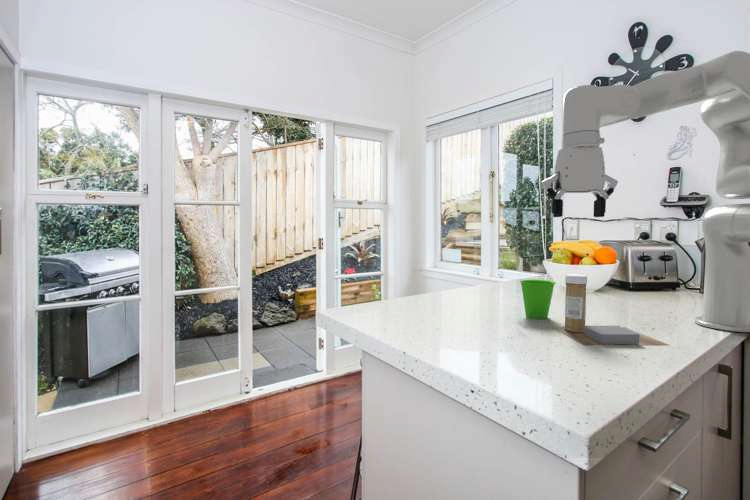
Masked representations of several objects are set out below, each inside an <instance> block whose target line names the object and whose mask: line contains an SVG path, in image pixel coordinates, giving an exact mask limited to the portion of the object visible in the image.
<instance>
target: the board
mask: <svg viewBox="0 0 750 500" xmlns="http://www.w3.org/2000/svg"><path fill="white" fill-rule="evenodd" d="M564 327H565V326H564ZM564 327H561V326H559V327H557V326H553V327H552V329H554V330H556V331H557V332H559V333H561V334H563V335H564V336H566V337H568V338H569V339H572V340H573V341H576V342H577V343H579V344H581V345H582V346H670V344H668V343H666V342H663V341H661V340H659V339H656V338H652V337H651V336H649V335H645V334H643V333H641V332H638V331H635V330H633V329H631V328H627V327H625V326H623V327H622V326H621V327H622V328H625V329H627V330H630V331H632V332H635V333H637V334H640V336H639V344H601V343H599V342H597V341H595V340H593V339H591V338H589V337H587V336H585V335H583V332H582V333H576V332H570V331H567V330H565V329H564Z"/></svg>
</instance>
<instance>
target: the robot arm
mask: <svg viewBox="0 0 750 500" xmlns="http://www.w3.org/2000/svg"><path fill="white" fill-rule="evenodd" d="M563 96H564V97H563V107H562V108H563V111H562V115H563V116H562V147H561V149H559V150H557V151H558V152H557V155H556V159H555V165H554V172H553V175H552V176H550V177H547V178H545V179H544V180H542V181H541V182H540V184H541V187H542V188H543V190H544V193H545V194H546V196H548V197H549V199H550V201H551V213H552V218H562V217H563V216H564V215H563V212H564V211H563V210H564V209H563V207H564V200H563V199H561V198H562V197H563V196H564V195H565V193H566V194H567V193H568V194H569V193H571V194H576V193H577V194H579V193H580V194H581V193H582V194H584V193H586V194H587V193H591V194H592V195H593V196H594V197H595V200H594V201H593V217H594V218H604V217H605V213H606V209H607V208H606V206H607V205H606V203H607V200H608V199H609V198H610V196H611V195H612V194H613V193H614V192H615V189H616V188H617V185H618V184H619V182H618V180H617V179H615V178H613V177H611V176H609V175H607V174H606V167H605V166H606V165H605V159H604V158H605V157H604V151H603V147H601V146H600V145H602V144H604V143H605V141H606V140H605V137H601V131H600V130H601V128H603V127H608V126H612V125H614V124H615V125H616V124H619V123H622V122H625V121H628V120H629V121H630V120H633V119H638V118H643V117H647V116H651V115H652V116H653V115H655V114H658V113H662V112H665V111H670V110H673V109H677V108H680V107H684V106H688V105H692V104H695V103H700V102H703V101H705V102H704V103H703V104H702V106H701V108H700V117H701V120H702V121H703V123H704V125H706V127H708V128H709V129H710V131H711V132H712V133H713V134H714V135H715V137H716V138H717V140H718V143H719V147H720V151H719V158H718V165H717V173H716V179H715V192H716V194H717V195H718V196H719V197H720V198H723V199H727V200H750V53H749V52H747V51H744V50H733V51H730V52H727V53H725V54H723V55H721V56H718V57H716V58H713V59H710V60H709V61H706V62H703V63H701V64H698V65H694V66H690V67H685V68H683V69H679V70H675V71H670V72H667V73H666V72H665V73H661V74H659V75H658V74H657V75H655V76H652V77H650V78H648V79H646V80H643V81H641V82H638V83H636V84H634V85H630V84H615V85H614V84H613V85H605V86H598V85H593V84H584V85H583V84H582V85H578V86H575V87H572V88H570V89H568V90H567V91H566V93H564V95H563ZM552 183H553V185H552V186H553V187H552V186H551V184H552ZM605 184H606V185H607V187H606V188H605ZM604 188H605V189H604ZM701 222H702V223H701V228H702V233H703V239H704V243H705V261H704V262H705V264H704V265H705V266H704V280H703V281H704V283H703V300H702V316H701V315H700V316H696V317H695V318H694V323H695V324H697V325H700V326H703V327H706V328H710V329H715V330H721V331H729V332H737V333H738V332H739V333H750V245H749V244H748V243H750V203H735V204H734V203H733V204H732V203H731V204H723V205H719V206H715V207H713V208H711V209H709V210H708V211H707V212H705V214H704V215H703V217H702V221H701Z"/></svg>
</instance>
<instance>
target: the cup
mask: <svg viewBox="0 0 750 500" xmlns="http://www.w3.org/2000/svg"><path fill="white" fill-rule="evenodd" d="M519 283H520V285H521V290H522V291H521V292H522V297H523V298H522V299H523V304H524V312H525V313H524V314H525V317H526V318H527V319H528V318H529V319H535V320H546V319H548V317H549V312H550V307H551V302H552V298H553V297H552V296H553V291H554V287H555V285H556V282H555V281H552V280H545V279H521V280H520V281H519Z"/></svg>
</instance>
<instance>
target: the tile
mask: <svg viewBox="0 0 750 500" xmlns="http://www.w3.org/2000/svg"><path fill="white" fill-rule="evenodd" d="M583 335H585V336H587V337H589V338H591V339H593V340H595V341H597V342H599V343H601V344H639V336H640V334H637V333H635V332H632V331H630V330H627V329H625V328H622V326H620V325H585V326H583Z"/></svg>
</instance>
